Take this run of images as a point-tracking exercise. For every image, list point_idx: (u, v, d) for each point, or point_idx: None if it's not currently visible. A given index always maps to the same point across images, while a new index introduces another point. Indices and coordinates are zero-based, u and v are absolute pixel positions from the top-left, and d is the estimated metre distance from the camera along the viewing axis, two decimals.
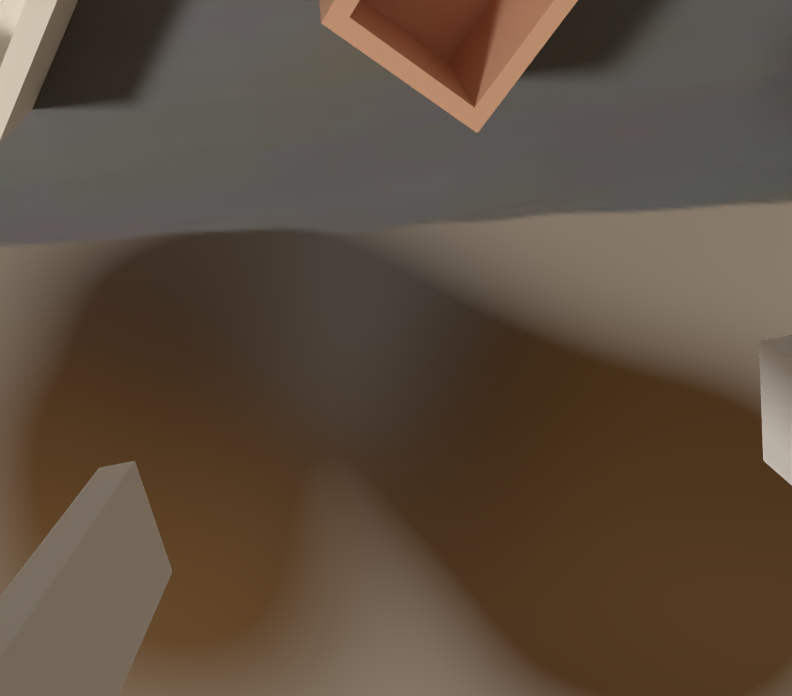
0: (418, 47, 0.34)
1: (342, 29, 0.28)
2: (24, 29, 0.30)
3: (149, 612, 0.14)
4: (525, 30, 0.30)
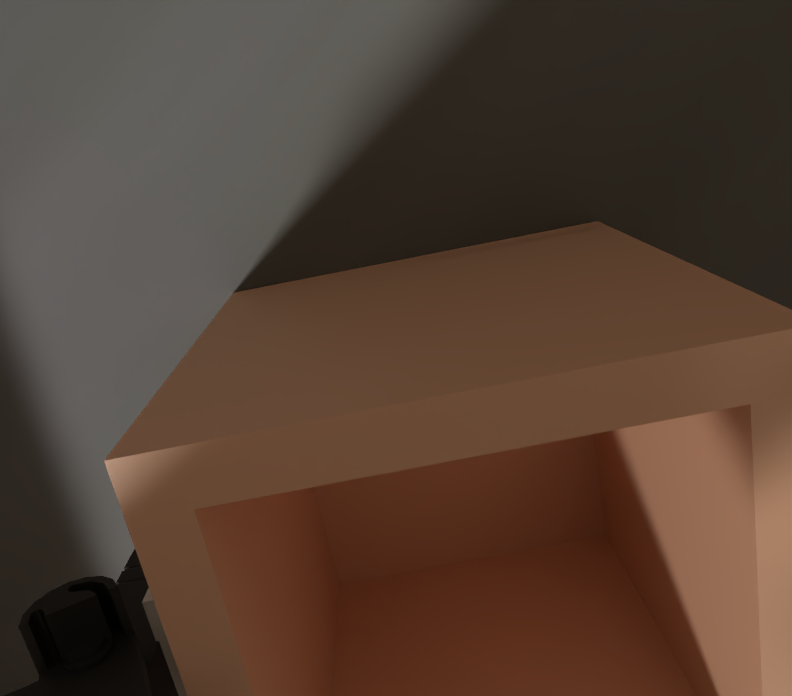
0: (531, 612, 0.15)
1: None
2: None
3: None
4: (736, 583, 0.09)
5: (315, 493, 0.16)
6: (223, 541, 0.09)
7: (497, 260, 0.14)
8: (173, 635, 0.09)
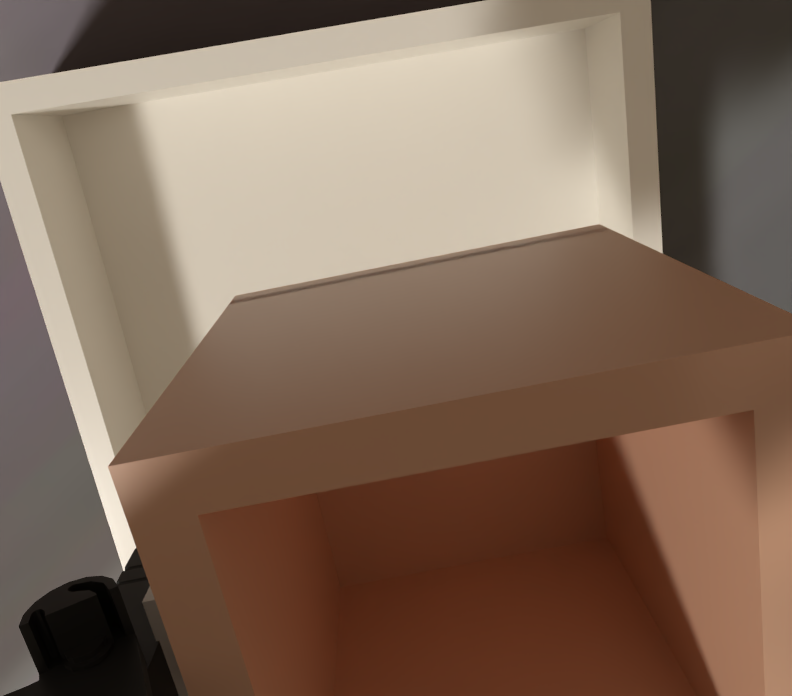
0: (533, 615, 0.15)
1: None
2: None
3: None
4: (740, 588, 0.09)
5: (317, 496, 0.16)
6: (226, 547, 0.09)
7: (499, 263, 0.14)
8: (176, 640, 0.09)
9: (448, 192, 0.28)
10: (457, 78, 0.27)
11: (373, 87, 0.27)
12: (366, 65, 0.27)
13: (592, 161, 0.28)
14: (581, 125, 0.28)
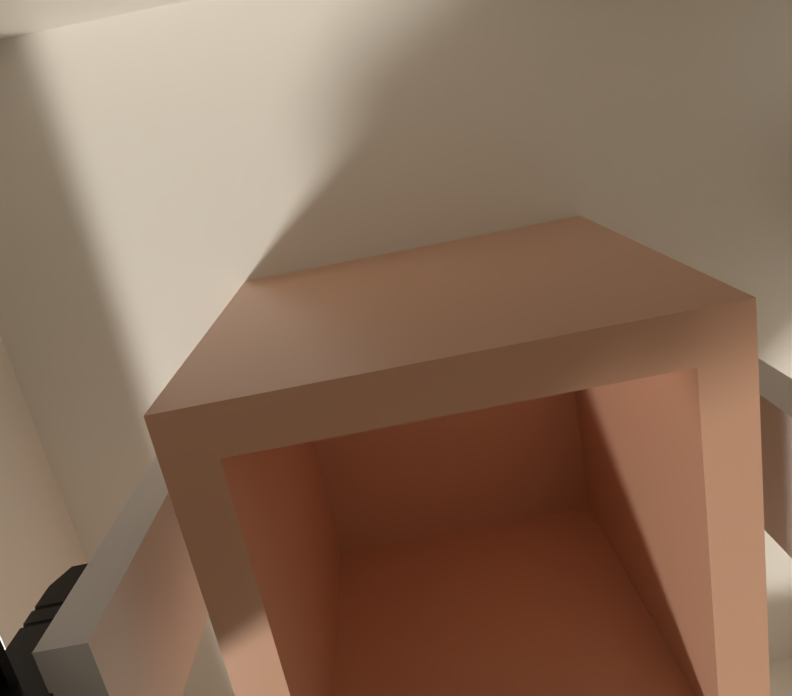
0: (519, 574, 0.16)
1: None
2: None
3: None
4: (692, 529, 0.11)
5: (320, 467, 0.18)
6: (243, 491, 0.10)
7: (486, 250, 0.15)
8: (200, 570, 0.10)
9: (581, 175, 0.16)
10: None
11: None
12: None
13: None
14: None
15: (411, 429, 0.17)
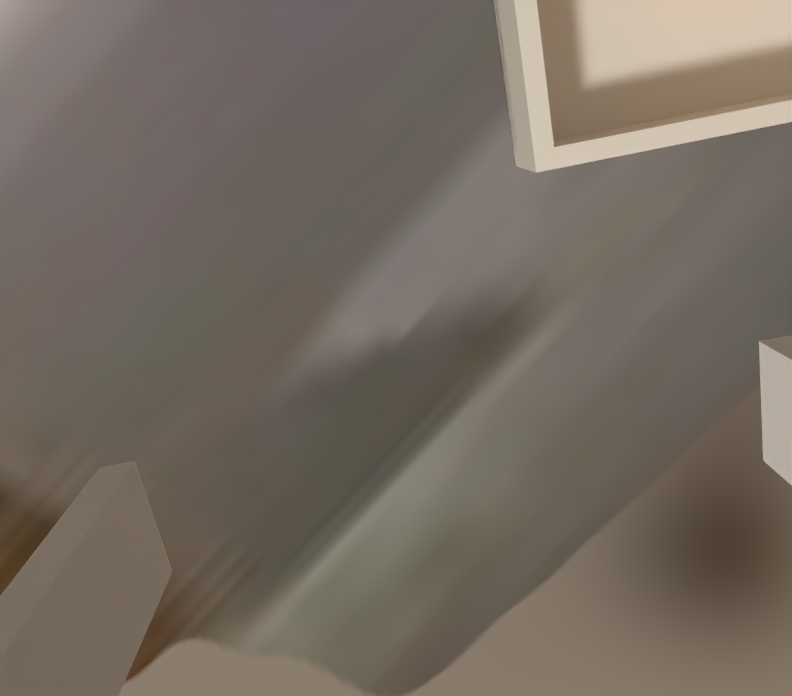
0: None
1: None
2: None
3: (149, 612, 0.14)
4: None
5: None
6: None
7: None
8: None
9: None
10: None
11: None
12: None
13: None
14: None
15: None
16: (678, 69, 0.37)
